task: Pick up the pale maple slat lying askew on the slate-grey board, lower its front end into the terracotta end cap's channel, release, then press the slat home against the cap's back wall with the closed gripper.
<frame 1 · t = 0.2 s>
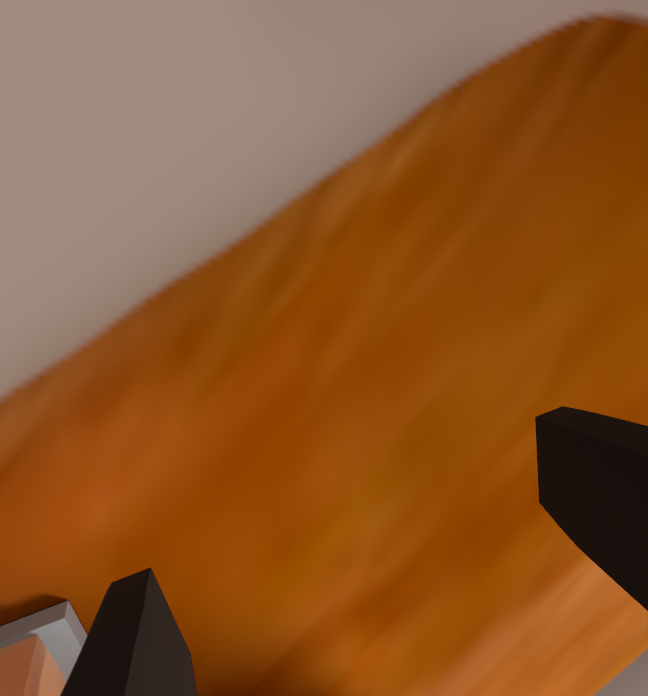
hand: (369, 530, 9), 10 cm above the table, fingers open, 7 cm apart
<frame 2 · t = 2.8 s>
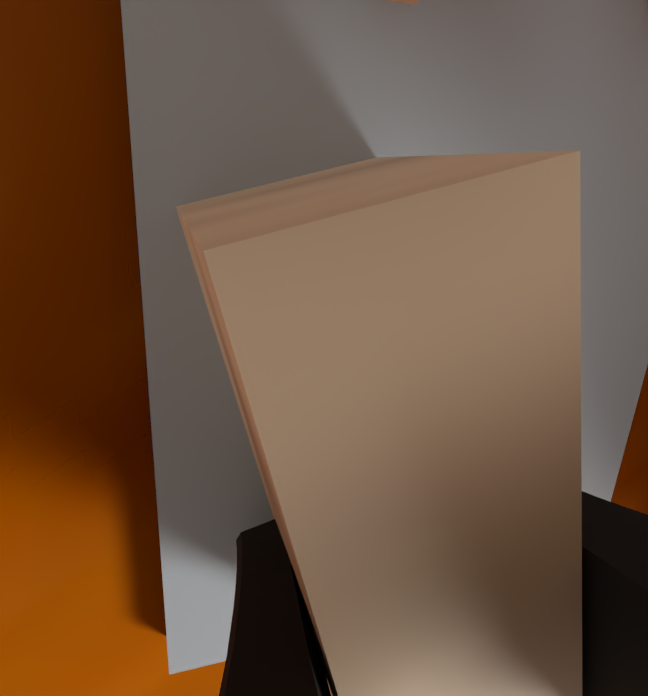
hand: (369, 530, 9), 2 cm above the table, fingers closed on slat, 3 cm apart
board: (437, 208, 9), on the table
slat: (334, 417, 9), point 1 cm above the table, touching board, gripper
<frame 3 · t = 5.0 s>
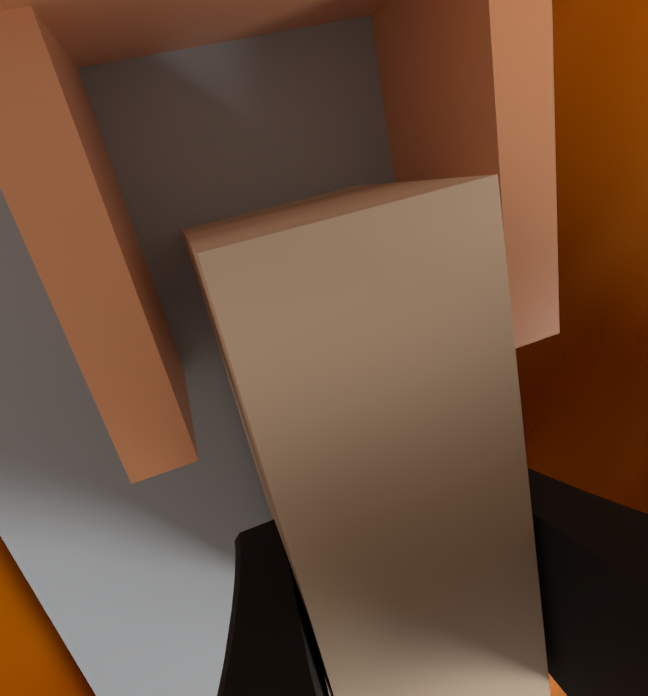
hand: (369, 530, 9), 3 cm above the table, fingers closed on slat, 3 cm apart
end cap: (266, 177, 8), resting on board
board: (277, 452, 11), on the table
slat: (324, 418, 10), point 1 cm above the table, touching board, gripper
when the fingers open (2 cm above the table, at t = 5.9 s): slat stays where it is, resting on board.
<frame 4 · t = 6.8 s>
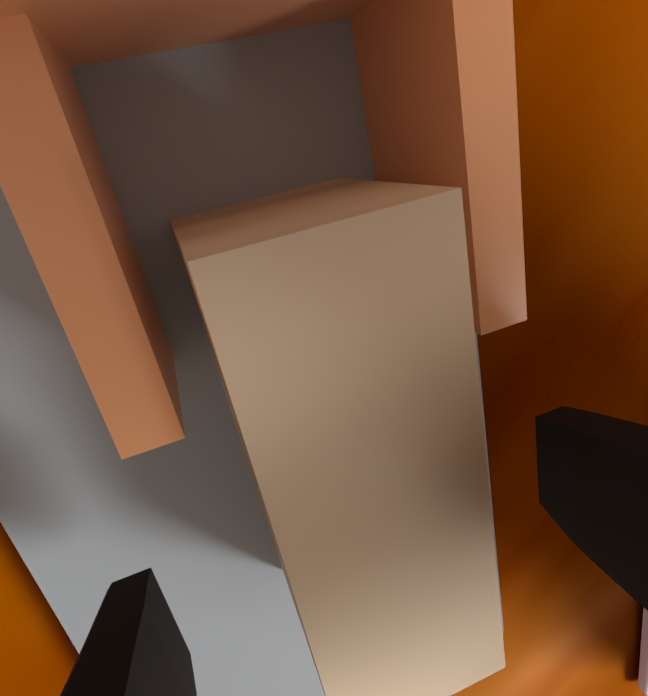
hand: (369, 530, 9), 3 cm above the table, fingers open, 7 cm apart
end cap: (251, 172, 9), resting on board
board: (265, 439, 11), on the table
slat: (306, 397, 10), point 1 cm above the table, touching board
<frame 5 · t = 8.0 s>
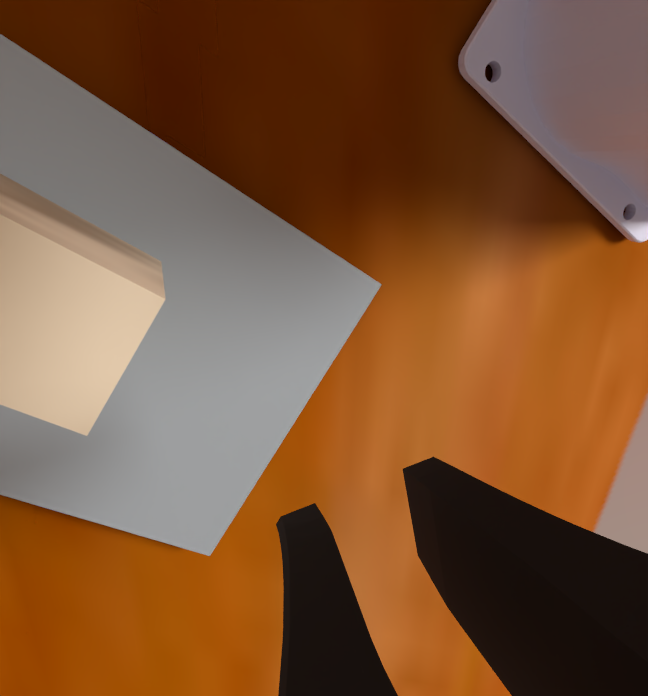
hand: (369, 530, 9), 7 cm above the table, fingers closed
board: (0, 282, 12), on the table
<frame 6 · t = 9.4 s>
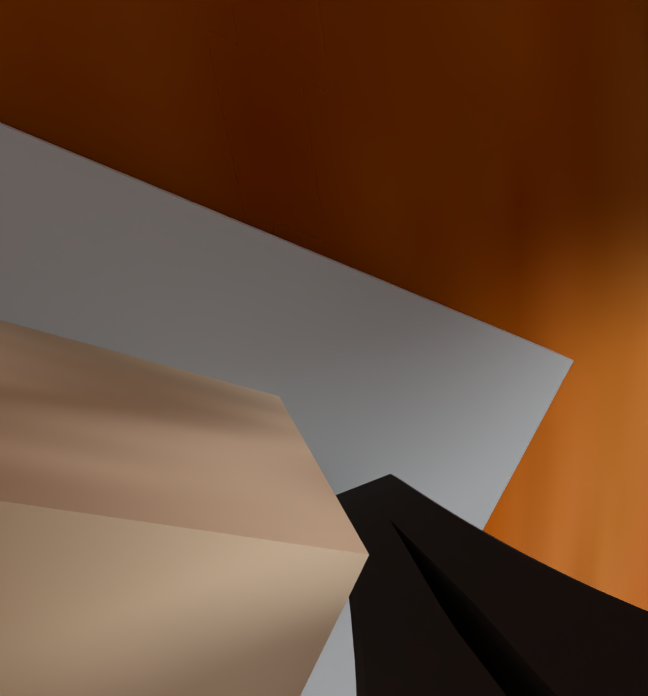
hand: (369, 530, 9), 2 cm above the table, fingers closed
board: (76, 466, 9), on the table
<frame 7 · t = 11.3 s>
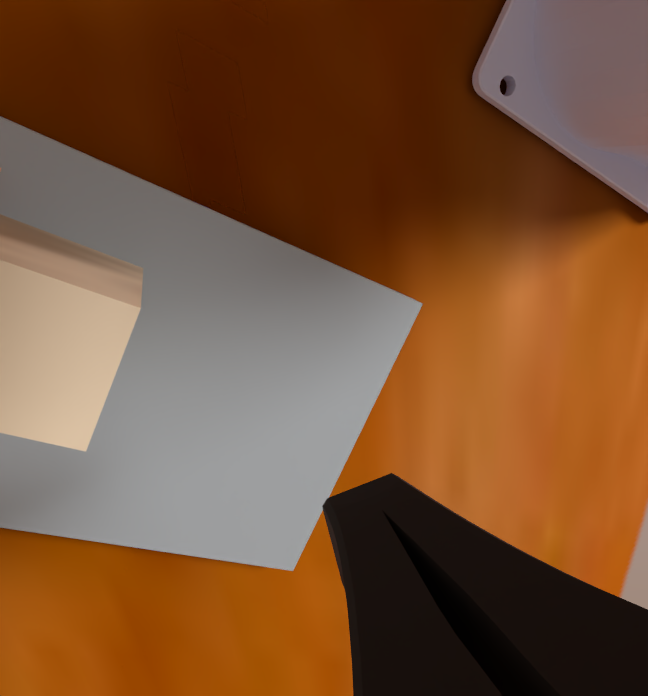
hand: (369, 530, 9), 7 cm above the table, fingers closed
board: (79, 356, 14), on the table
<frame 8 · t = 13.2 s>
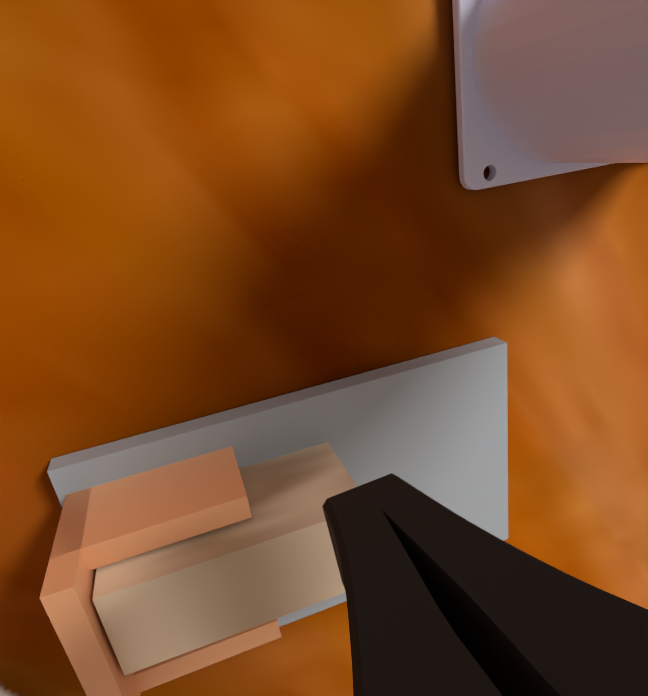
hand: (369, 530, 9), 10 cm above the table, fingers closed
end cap: (174, 538, 18), resting on board
board: (316, 499, 21), on the table
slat: (230, 507, 19), point 1 cm above the table, touching board
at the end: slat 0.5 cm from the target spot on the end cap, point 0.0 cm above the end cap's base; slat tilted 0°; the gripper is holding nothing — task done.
